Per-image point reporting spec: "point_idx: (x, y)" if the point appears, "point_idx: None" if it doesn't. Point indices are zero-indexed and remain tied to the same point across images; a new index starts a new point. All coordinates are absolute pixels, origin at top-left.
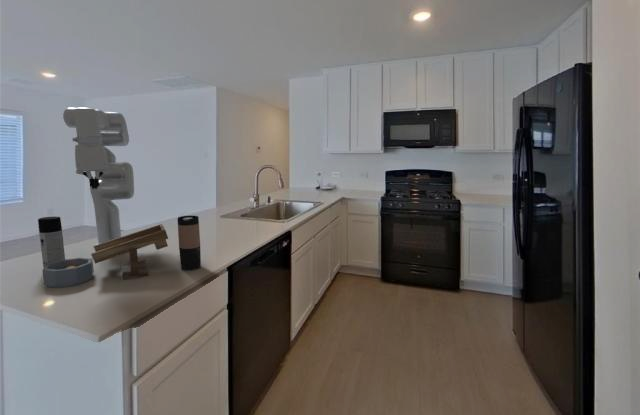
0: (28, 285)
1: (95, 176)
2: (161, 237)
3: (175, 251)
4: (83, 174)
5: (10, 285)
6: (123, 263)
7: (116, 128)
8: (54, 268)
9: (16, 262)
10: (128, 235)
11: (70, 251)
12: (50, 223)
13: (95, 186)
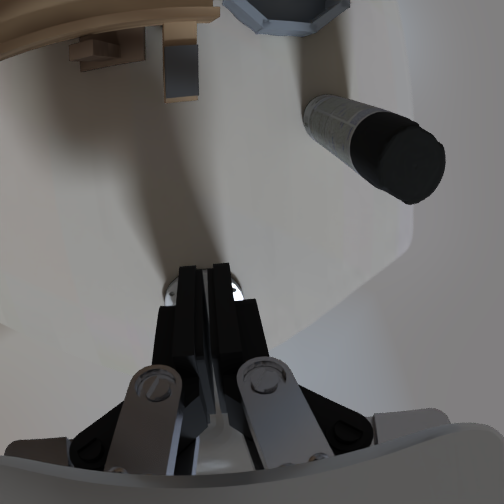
0: (365, 13)
1: (177, 394)
2: None
3: (15, 163)
4: (359, 416)
5: (398, 41)
6: (140, 53)
7: None
8: (326, 10)
9: (397, 233)
10: (82, 19)
11: (298, 281)
12: (402, 120)
13: (193, 278)
